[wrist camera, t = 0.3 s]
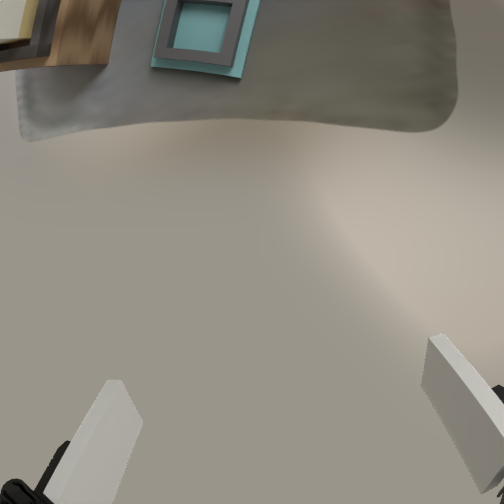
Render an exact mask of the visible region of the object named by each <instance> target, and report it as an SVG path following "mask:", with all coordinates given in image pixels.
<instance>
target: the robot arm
mask: <svg viewBox="0 0 504 504" xmlns="http://www.w3.org/2000/svg"><path fill="white" fill-rule="evenodd" d="M421 387H422V388H423V390H424V392H425V393H426V395H427V397H428V398H429V400H430V402H431V403H432V405H433V407H434V409H435V410H436V412H437V414H438V415H439V417H440V419H441V421H442V422H443V424H444V426H445V427H446V429H447V431H448V433H449V435H450V436H451V438H452V440H453V442H454V444H455V445H456V447H457V449H458V450H459V453H460V454H461V456H462V458H463V460H464V462H465V464H466V466H467V468H468V470H469V472H470V473H471V476H472V477H473V479H474V481H475V483H476V485H477V487H478V489H479V491H480V493H481V494H483V493H485V492H487V491H489V490H490V489H492V488H494V487H496V486H498V484H499V483H500V482H501V481H502V479H503V478H504V387H502V386H500V385H497V386H495V387H493V388H490V387H489V385H488V384H487V383H486V382H485V381H484V379H483V378H482V377H481V376H480V375H479V373H478V372H477V371H476V370H475V369H474V367H473V366H472V365H471V364H470V363H469V362H468V361H467V359H466V358H465V357H464V356H463V355H462V354H461V352H460V351H459V350H458V349H457V348H456V347H455V346H454V344H453V343H452V342H451V341H450V340H449V339H448V338H447V337H446V336H445V334H444V333H442V334H439V335H435V336H432V337H429V338H428V344H427V352H426V359H425V365H424V371H423V377H422V383H421ZM142 425H143V421H142V419H141V417H140V415H139V414H138V412H137V410H136V408H135V406H134V404H133V402H132V400H131V398H130V396H129V394H128V393H127V390H126V389H125V386H124V384H123V382H122V381H121V380H107V382H106V383H105V385H104V387H103V388H102V390H101V391H100V393H99V395H98V396H97V398H96V400H95V401H94V403H93V405H92V406H91V408H90V410H89V411H88V413H87V415H86V416H85V418H84V420H83V422H82V423H81V425H80V427H79V428H78V430H77V432H76V434H75V435H74V437H73V439H72V441H66V442H64V443H63V444H62V445H61V446H60V447H59V448H58V449H57V451H56V453H55V455H54V456H53V459H52V460H51V462H50V463H49V466H48V467H47V468H46V471H45V472H44V474H43V476H42V478H41V479H40V481H39V483H38V485H37V487H36V488H35V490H34V491H33V490H31V489H30V488H29V487H28V486H27V485H26V484H25V483H24V482H23V481H22V480H20V479H11V480H9V481H7V482H6V483H5V484H4V485H3V487H2V490H1V494H0V504H113V501H114V498H115V496H116V493H117V490H118V487H119V485H120V482H121V479H122V477H123V474H124V471H125V469H126V466H127V464H128V461H129V458H130V456H131V453H132V451H133V448H134V445H135V443H136V440H137V438H138V435H139V432H140V430H141V427H142ZM502 493H503V495H502V499H501V502H500V504H504V487H503V488H502V489H501V490H500V492H499V493H498V495H497V497H500V495H501V494H502Z"/></svg>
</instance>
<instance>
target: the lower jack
mask: <svg viewBox="0 0 504 504" xmlns="http://www.w3.org/2000/svg"><path fill="white" fill-rule="evenodd" d="M260 2H261V0H165V3H164V7H163V10H162V15H161V19H160V23H159V27H158V32H157V36H156V41H155V46H154V50H153V56H152V61H151V66H150V67H162V68H173V69H183V70H191V71H199V72H206V73H213V74H220V75H226V76H232V77H238V78H242V75H243V71H244V67H245V62H246V58H247V54H248V50H249V46H250V41H251V37H252V33H253V29H254V25H255V21H256V17H257V13H258V10H259V6H260Z"/></svg>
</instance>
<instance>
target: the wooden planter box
mask: <svg viewBox="0 0 504 504" xmlns="http://www.w3.org/2000/svg"><path fill="white" fill-rule="evenodd" d="M120 3H121V0H39V2H38V6H37V11H36V15H35V20H34V24H33V29H32V35H31V40H27V41H22V42H17V43H7V44H0V72H2V71H8V70H17V69H25V68H35V67H47V66H61V65H86V64H108V61H109V55H110V49H111V44H112V39H113V34H114V29H115V24H116V20H117V16H118V11H119V7H120Z"/></svg>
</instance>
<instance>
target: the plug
mask: <svg viewBox="0 0 504 504" xmlns="http://www.w3.org/2000/svg"><path fill="white" fill-rule="evenodd" d="M38 2H39V0H0V44H7V43H17V42H22V41H27V40H31V35H32V29H33V24H34V20H35V15H36V11H37V6H38Z"/></svg>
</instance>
